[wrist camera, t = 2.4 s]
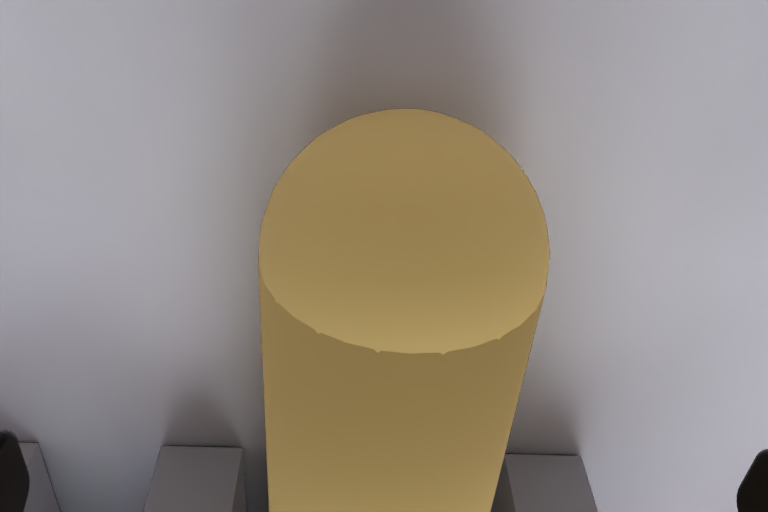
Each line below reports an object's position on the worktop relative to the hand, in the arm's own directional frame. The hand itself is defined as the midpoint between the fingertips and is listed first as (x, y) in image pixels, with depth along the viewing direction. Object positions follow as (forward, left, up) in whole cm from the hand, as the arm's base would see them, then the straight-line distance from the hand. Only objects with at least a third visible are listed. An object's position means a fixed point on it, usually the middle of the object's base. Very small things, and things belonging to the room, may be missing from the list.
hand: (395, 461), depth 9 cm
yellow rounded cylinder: (-3, 0, -4) cm, 4 cm away
